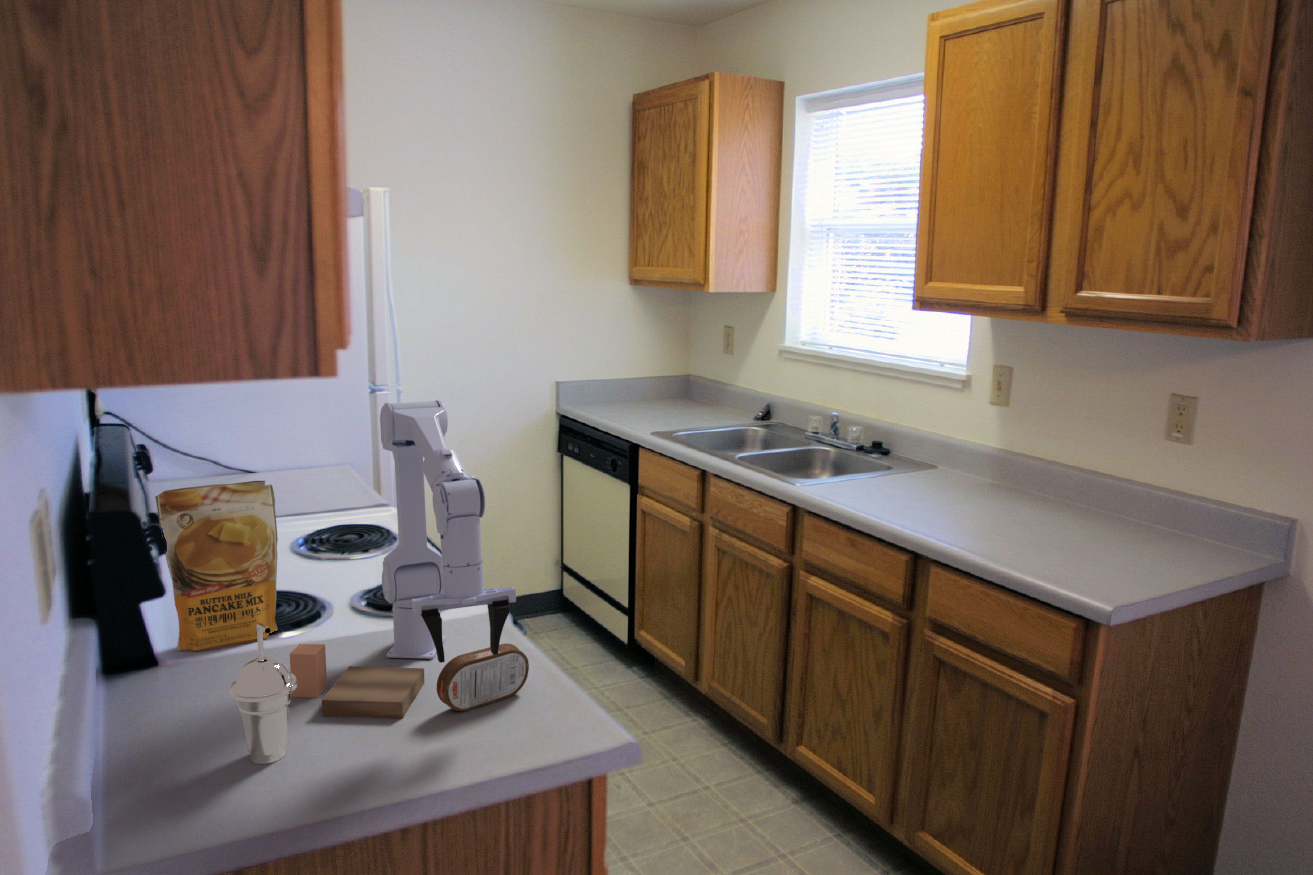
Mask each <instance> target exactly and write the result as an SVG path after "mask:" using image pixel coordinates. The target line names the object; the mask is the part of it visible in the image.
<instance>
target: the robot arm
mask: <svg viewBox="0 0 1313 875" xmlns="http://www.w3.org/2000/svg"><path fill="white" fill-rule="evenodd" d="M448 418H449V417H448V412H447V409H446V406H445V404H444V403H443V401H441V400H440V399H438V400H437V399H436V400H433V401H414V402H413V401H411V402H393V403H390V402H385V403H384V404H383V406H382V407H381V409H380V414H379V423H380V425H379V426H380V442H381V445H382V449H383V450H386V451H388V452H391V453H392V456H393V460H394V471H395V472H394V473H395V491H396V493H395V495H396V513H397V514H396V515H397V533H398V534H397V536H398V537H397V538H398V545H397V546H396V547H395V548H393V549H392V550H391V551H390V552H389V553H388V554H386V555H385V556H384V557H383V561H382V571H381V572H382V573H381V586H382V594H383V597H384V599H385V600H386V601H387V602H388V603H389V604H392V616H393V617H392V620H393V622H392V623H393V645H392V647H391V648H390V649H389V651H388V652H387V653H386V658H394V659H397V658H399V659H426V660H427V659H429V660H431V659H433V658H434V657H435V656H436V655H437V661H438V662H439V663H445V660H446V659H445V651H444V641H445V640H446V639H447V636H446V635H444V634H443V618H442V616H441V611H444V610H445V611H447V610H453V609H461V608H469V607H478V606H487V610H488V619H489V647H490V648H491V652H492V654H493V655H496V654H498V649H499V645H500V642H501V637H502V632H503V630H504V628H505V627H504V626H505V624H506V621H507V619H508V617H509V615H510V612H511V605H510V604H511V603H516V602H517V594H516V588H515V587H514V586H507V587H489V588H485V583H484V582H485V581H484V564H483V549H482V548H483V546H482V532H481V528H482V527H481V518H482V517H483V516H484V514H485V509H486V496H485V490H484V487H483V484H482V482H481V479H480V478H479V477H475V476H474V475H469V474H468V471H467V470H466V468H465V465H464V464H463V461H462V460H461V458H460V456H459V454H458V453H457V451H455V450H453V449H451V448H448V446H447V443H446V440H445V436H446V433H447V431H448V425H449V422H448ZM425 480H426V481H427V483H428V486H429V488H430V491H431V492H432V508H433V514H434V516H435V523H436V529H437V530H436V532H437V533H438V534H440V551H439V550H438V549H435V548H434V547H432V546H430V545H429V544H428V535H427V534H428V533H427V515H426V495H425V494H426V493H425V492H426V491H425ZM440 552H441V553H440ZM509 603H510V604H509Z"/></svg>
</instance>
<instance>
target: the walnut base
mask: <svg viewBox="0 0 1313 875" xmlns="http://www.w3.org/2000/svg"><path fill="white" fill-rule="evenodd" d="M424 685H425V668H423V667H422V668H419V667H418V668H417V667H387V666H385V667H384V666H354V665H353V666H351V665H349V666H348V667H347V669H346V670H345V671H344V672H343V673H342V674H341V675H340V677H339V679H337V681H336V682H335V683H334V684H333V685H332V687H331V688H330V689H329V691H328V692H326V694H325V695H324V696H323V698H322V699H321V713H322V714H321V715H322V717H346V718H347V717H348V718H350V717H352V718H354V717H355V718H380V719H381V718H384V719H385V718H387V719H388V718H389V719H404V717H405V715H406V714H407V713H408V711H409V709H410V708H411V706H412V704H413V702H414V701H415V699H416V698H417V696H418V695H419V693H420V691H421V690H422V688H423V687H424Z"/></svg>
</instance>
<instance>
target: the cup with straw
mask: <svg viewBox="0 0 1313 875" xmlns="http://www.w3.org/2000/svg"><path fill="white" fill-rule="evenodd" d="M256 629H257V641H256V642H257V652H258V653H257V656H258V657H257V658H255V659H253V660H250V661H248V662H247V663H246V664H245V665H243V667H242V668H241V669H240V671H239V672H238V674H237V675H236V676H237V677H236V678H235V680H234V681H233V682H231V685H230V687H229V688H230V690H229V696H230V698H232V699H233V700H235V701H236V705H237V707H238V711H239V713H240V715H241V716H240V717H241V719H242V720H241V721H242V724H243V725H242V726H243V731H244V735H245V741H246V746H247V750H248V753H249V755H250V756H249V761H251V762H252V763H254V764H259V765H264V764H265V765H266V764H271V763H275V762H278V761H280V760H281V759H283V758H284V757H285V756H286V754H287V751H286V747H287V742H288V728H289V713H290V712H289V711H290V706H291V700H292V692H293V691H294V690H295V689H296V688H297V685H298V682H297V679H296V676H295V675H294V674H292V673H291V672H290V668H288V667H287V665H286V664H285V663H284V662H283V661H281V660H280V659H278V658H275V657H268V656H265V654H264V639H263V631H264V632H265V633H270V631H271V630H270V628H268V627H267V626H265V625H264V624H263V623H261V622H259V623H258V624H257V627H256ZM262 630H263V631H262Z"/></svg>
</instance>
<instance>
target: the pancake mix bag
mask: <svg viewBox="0 0 1313 875" xmlns="http://www.w3.org/2000/svg"><path fill="white" fill-rule="evenodd" d="M155 502H156V508H157V509H156V510H157V516H158V524H159V527H160V528H161V527H162V528H163V533H164V537H165V539H166V541H167V552H166V553H165V552H164V554H165V560H166V565H167V568H168V571H169V575H170V578H171V583H172V591H173V600H174V606H175V610H176V613H177V619H178V638H177V639H178V640H177V646H176V651H190V652H193V653H194V652H202V651H209V650H214V649H221V648H226V647H231V646H237V645H241V644H248V643H253V642H258V641H257V629H256V627H257V624H258V623H259V622H261V623H263V624H264V625H265V626H267V627H268V628H270V630H271V631H270V633H272V632H274V631H277V630H278V631H279V629H278V626H277V623H276V622H277V621H276V619H275V618H276V607H277V577H278V575H277V573H278V540H279V539H278V529H277V525H278V524H277V515H276V499H275V492H274V488H273V484H266V480H252V481H251V480H250V481H244V482H242V481H241V482H236V483H234V482H233V483H221V484H207V485H199V486H189V487H183V488H182V487H180V488H176V489H175V488H174V489H169V490H164V491H162V492H161V493H159V494H157V495H155ZM262 631H263V630H262ZM268 635H269V633H265V632H264V631H263V640H267V639H268V638H269V637H268ZM269 636H270V635H269Z"/></svg>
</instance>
